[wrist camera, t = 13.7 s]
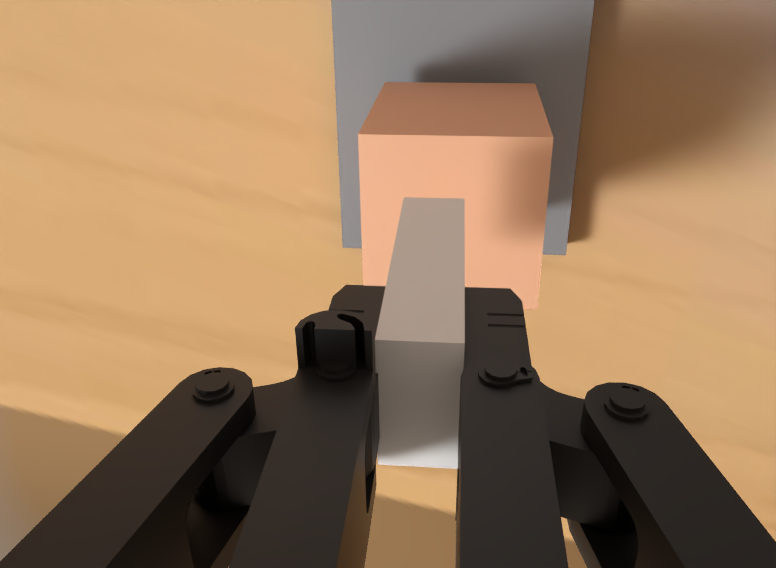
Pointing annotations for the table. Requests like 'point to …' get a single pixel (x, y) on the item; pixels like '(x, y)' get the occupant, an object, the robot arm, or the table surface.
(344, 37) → the plinth
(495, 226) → the peach foam cube
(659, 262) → the table surface
